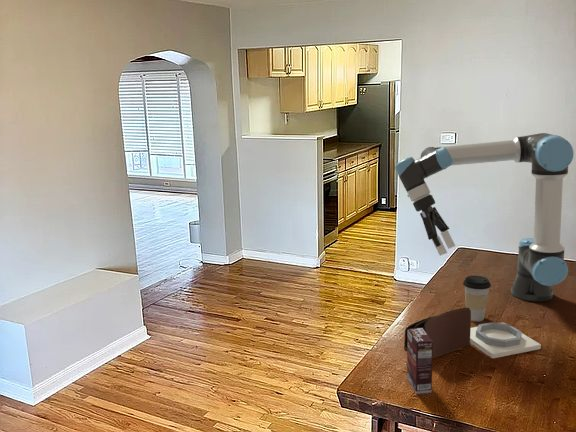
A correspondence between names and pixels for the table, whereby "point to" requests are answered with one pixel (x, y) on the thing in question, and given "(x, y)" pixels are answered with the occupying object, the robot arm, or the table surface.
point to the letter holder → (446, 331)
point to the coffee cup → (476, 296)
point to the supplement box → (419, 360)
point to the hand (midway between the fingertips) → (447, 250)
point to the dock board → (501, 350)
